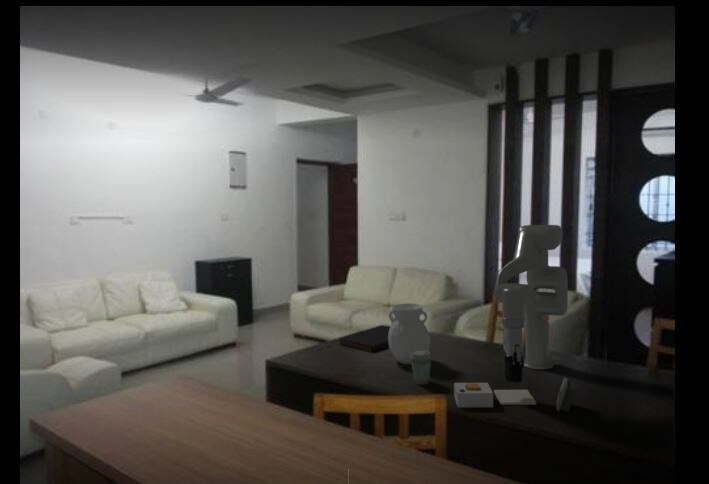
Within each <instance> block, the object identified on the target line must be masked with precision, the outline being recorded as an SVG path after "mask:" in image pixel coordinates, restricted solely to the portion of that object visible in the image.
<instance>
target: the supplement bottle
mask: <svg viewBox="0 0 709 484" xmlns="http://www.w3.org/2000/svg"><path fill="white" fill-rule="evenodd" d="M520 353H521V352H520ZM513 355H516V354H513ZM515 358H516V357H514V360H515ZM524 359H525V357H524V355H522V356H521V375H517V376H513V375H512V364H513V362H512V356H508V355H507V354H506V353H504V355H503V379H504V380H505V381H507V382H508V383H514V384H516V383H517V384H518V383H522V382H524V381H525V366H524Z"/></svg>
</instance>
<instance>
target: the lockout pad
mask: <svg viewBox="0 0 709 484" xmlns="http://www.w3.org/2000/svg"><path fill="white" fill-rule="evenodd" d="M493 394H494V395H495V396H496V398H497V400H498V402H499V404H500V405H501V406H520V405H521V406H529V405H530V406H536V405H537V401H536V400H535V399H534V397H533V396H532V395H531V393H530V391H529V390H528V389H494V390H493Z"/></svg>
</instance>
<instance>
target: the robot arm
mask: <svg viewBox="0 0 709 484" xmlns="http://www.w3.org/2000/svg"><path fill="white" fill-rule="evenodd" d="M563 237H564V232H563V229H562V227H561V226H560V225H558V224H528V225H522V226H520V227H519V228H518V229H517V238H516V243H515V247H514V248H515V249H514V254H513V258H512V260H510V261H509V262H507V264H505V265H504V266H503V267H502V269H501V270H499V271H498V274H497V276H496V280H495V285H494V291H493V292H494V293H493V295H494V299H495V301H496V302H498V303H500V304H502V305H501V307H502V309H501V310H502V312H501V314H502V317H501V318H502V319H501V321H502V328H503V342H502V343H503V346H502V347H503V351H504V352H505V354H507V355H508V356H512V362H513V364H512V375H513V376H517V375H521V356H522V355H523V354H524V340H525V358H524V368H527V369H531V370H538V371H539V370H541V371H542V370H549V369H552V368H553V367H554V362H562V357H561V356H556V355H551V354H550V323H549V322H548V320H547V319H546V317H545V316H557V317H562V316H564V315H566V313H567V312H568V304H569V301H568V297H569V296H568V294H569V293H568V292H569V291H568V289H569V288H568V283H569V281H568V274H567V271H566V269H565V268H564V267H563V266H558V265H557V266H556V265H549V254H548V252H547V251H552V250H553V251H554V250H555V249H557V248H558V247H559V246H560V245H561V243H562V241H563ZM523 273H526V283H516V282H515V283H514V282H513V283H512V282H508V280H510V279H512V278H513V277H515V276H517V275H520V274H523ZM536 289H545V290H547V289H548V290H553V291H555V292H553V291H536ZM523 329H525V330H524V332H525V333H524V335H525V337H524V338H525V339H524V338H523ZM523 339H524V340H523ZM520 352H521V353H520ZM513 354H516V355H513ZM523 356H524V355H523ZM514 357H516V358H515V360H514Z"/></svg>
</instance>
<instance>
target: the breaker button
mask: <svg viewBox="0 0 709 484" xmlns="http://www.w3.org/2000/svg"><path fill="white" fill-rule="evenodd" d="M465 383H466V390H467V391H475V390H480V387H479V385H478V383H479V382H465Z"/></svg>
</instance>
